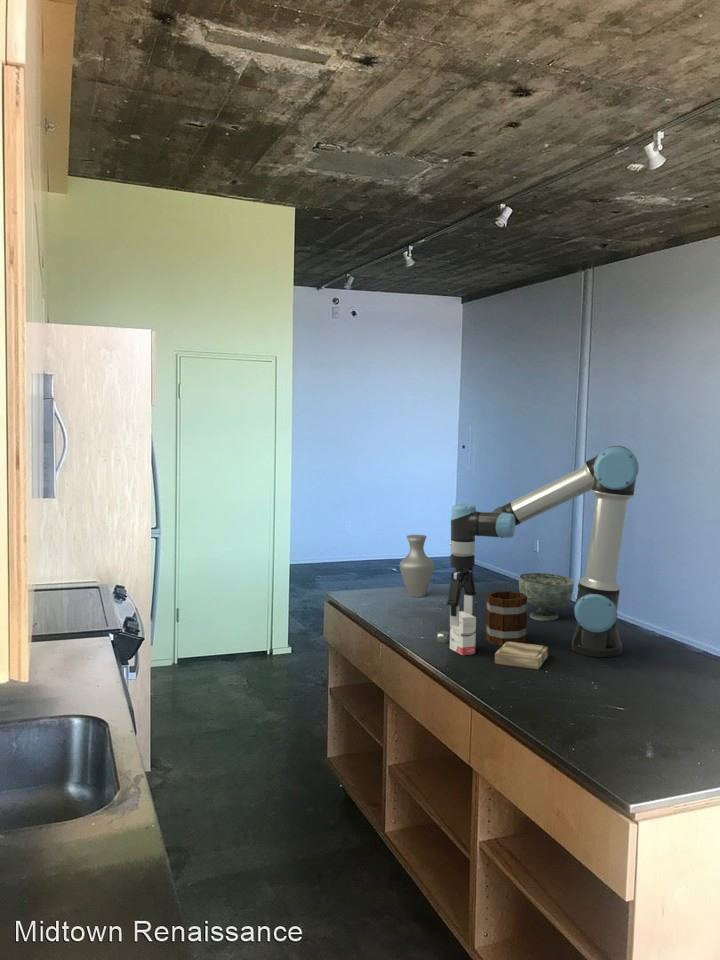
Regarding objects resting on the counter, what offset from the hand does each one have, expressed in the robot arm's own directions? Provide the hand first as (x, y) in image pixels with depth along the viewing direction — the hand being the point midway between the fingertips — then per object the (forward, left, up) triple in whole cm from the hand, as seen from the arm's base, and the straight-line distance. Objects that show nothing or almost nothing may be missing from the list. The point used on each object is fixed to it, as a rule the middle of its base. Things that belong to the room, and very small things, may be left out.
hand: (461, 620), depth 234 cm
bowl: (-51, +15, -10) cm, 54 cm away
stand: (+1, +19, -10) cm, 22 cm away
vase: (-64, -41, -10) cm, 76 cm away
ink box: (0, 0, -10) cm, 10 cm away
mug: (-20, +9, -10) cm, 24 cm away
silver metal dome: (-7, -9, -10) cm, 15 cm away
